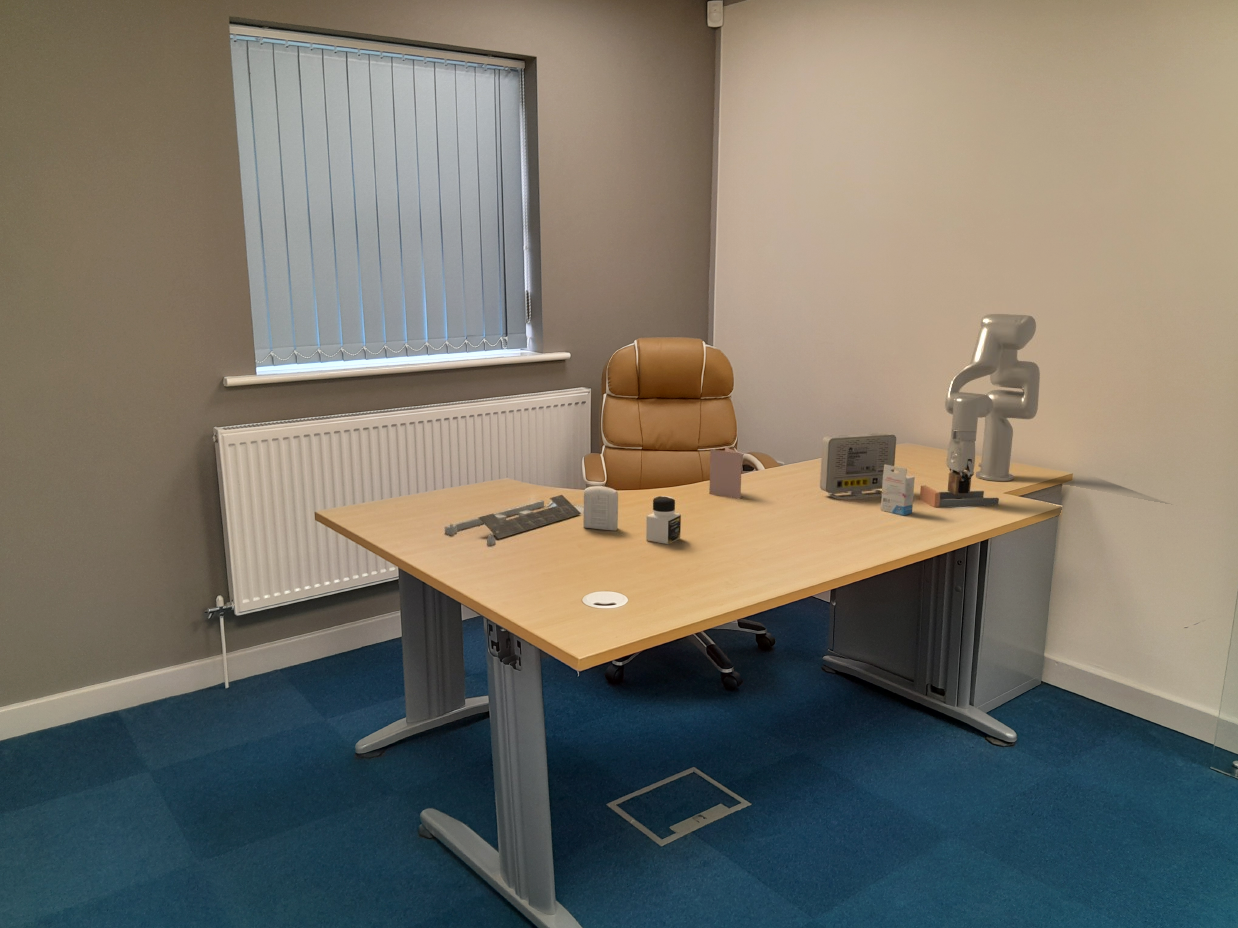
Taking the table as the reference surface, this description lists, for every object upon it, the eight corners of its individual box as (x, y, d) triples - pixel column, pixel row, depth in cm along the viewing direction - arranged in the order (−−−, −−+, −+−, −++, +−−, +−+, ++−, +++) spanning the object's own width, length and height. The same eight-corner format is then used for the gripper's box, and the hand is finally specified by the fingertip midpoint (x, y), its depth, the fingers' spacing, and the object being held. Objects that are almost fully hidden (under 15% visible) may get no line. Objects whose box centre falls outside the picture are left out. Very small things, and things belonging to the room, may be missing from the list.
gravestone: (619, 527, 267) (620, 486, 264) (615, 531, 263) (615, 489, 260) (586, 524, 270) (586, 483, 267) (581, 528, 266) (581, 486, 263)
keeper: (947, 490, 299) (949, 472, 298) (962, 490, 300) (963, 472, 298) (955, 494, 294) (956, 476, 293) (969, 494, 295) (971, 475, 294)
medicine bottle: (668, 544, 251) (669, 502, 249) (645, 540, 255) (646, 498, 252) (680, 538, 257) (681, 496, 254) (658, 534, 261) (659, 493, 258)
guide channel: (919, 498, 301) (920, 485, 300) (981, 497, 304) (983, 483, 303) (934, 507, 291) (935, 493, 290) (998, 505, 294) (999, 491, 293)
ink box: (912, 513, 284) (916, 466, 281) (903, 516, 281) (907, 468, 278) (889, 507, 290) (892, 462, 287) (879, 510, 287) (883, 464, 284)
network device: (882, 488, 314) (886, 431, 310) (897, 495, 306) (901, 435, 302) (815, 494, 306) (819, 435, 302) (829, 500, 298) (833, 440, 294)
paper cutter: (444, 534, 261) (444, 515, 260) (554, 503, 294) (554, 487, 293) (488, 547, 249) (487, 527, 248) (597, 513, 283) (597, 496, 282)
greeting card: (742, 498, 301) (744, 453, 297) (722, 500, 298) (723, 455, 295) (726, 490, 311) (727, 446, 308) (706, 492, 308) (707, 448, 305)
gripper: (939, 430, 301) (935, 484, 305) (965, 440, 284) (960, 497, 288) (961, 430, 302) (956, 484, 306) (988, 440, 285) (983, 497, 289)
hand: (958, 490), depth 297 cm, fingers closed on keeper, 5 cm apart
